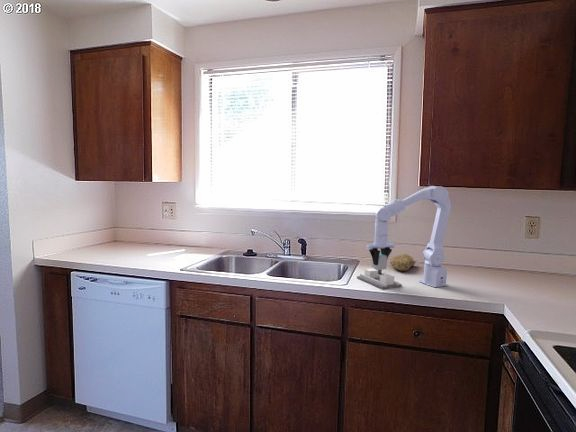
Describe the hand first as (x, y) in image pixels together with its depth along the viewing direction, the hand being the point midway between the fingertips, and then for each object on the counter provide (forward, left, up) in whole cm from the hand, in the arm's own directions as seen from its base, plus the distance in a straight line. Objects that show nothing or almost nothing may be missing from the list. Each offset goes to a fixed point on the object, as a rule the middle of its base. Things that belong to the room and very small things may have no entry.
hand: (379, 264), depth 166 cm
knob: (+13, -10, -8) cm, 18 cm away
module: (0, 0, -2) cm, 2 cm away
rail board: (0, 0, -8) cm, 8 cm away
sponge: (+16, -29, -9) cm, 34 cm away
